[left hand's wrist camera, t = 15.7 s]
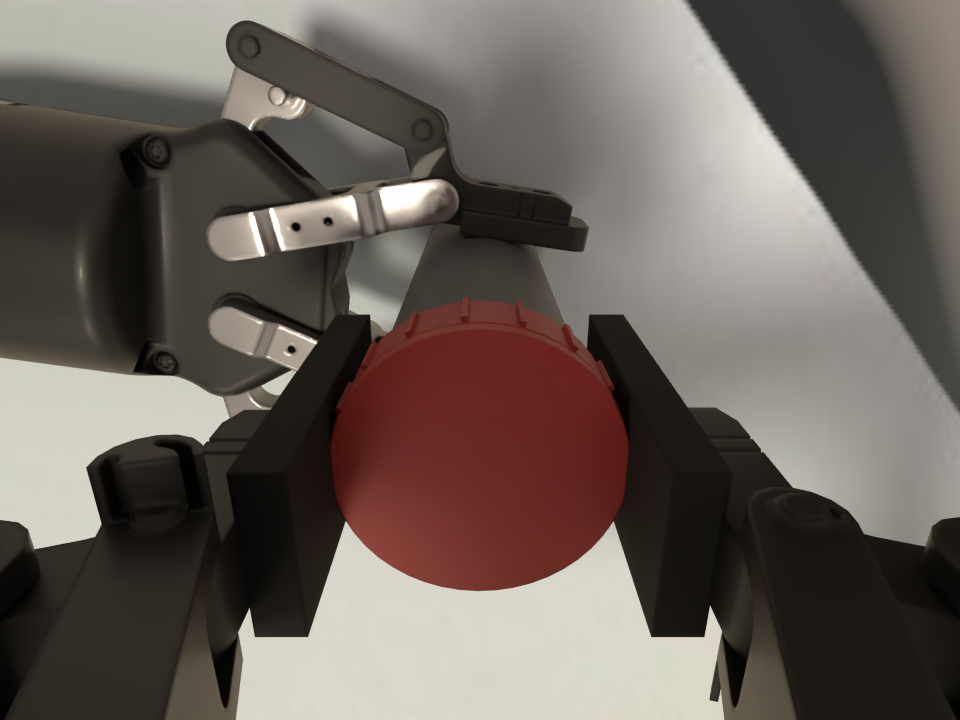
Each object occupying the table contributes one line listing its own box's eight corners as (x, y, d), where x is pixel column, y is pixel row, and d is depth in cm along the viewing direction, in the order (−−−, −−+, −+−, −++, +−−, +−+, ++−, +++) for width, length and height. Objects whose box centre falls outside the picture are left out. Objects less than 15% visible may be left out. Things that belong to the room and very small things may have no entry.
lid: (375, 261, 11) (358, 285, 9) (657, 338, 11) (685, 374, 10) (321, 504, 12) (299, 558, 11) (565, 560, 13) (576, 619, 12)
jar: (519, 319, 26) (566, 570, 12) (416, 297, 26) (338, 529, 12) (545, 216, 25) (637, 364, 10) (437, 191, 24) (376, 308, 10)
